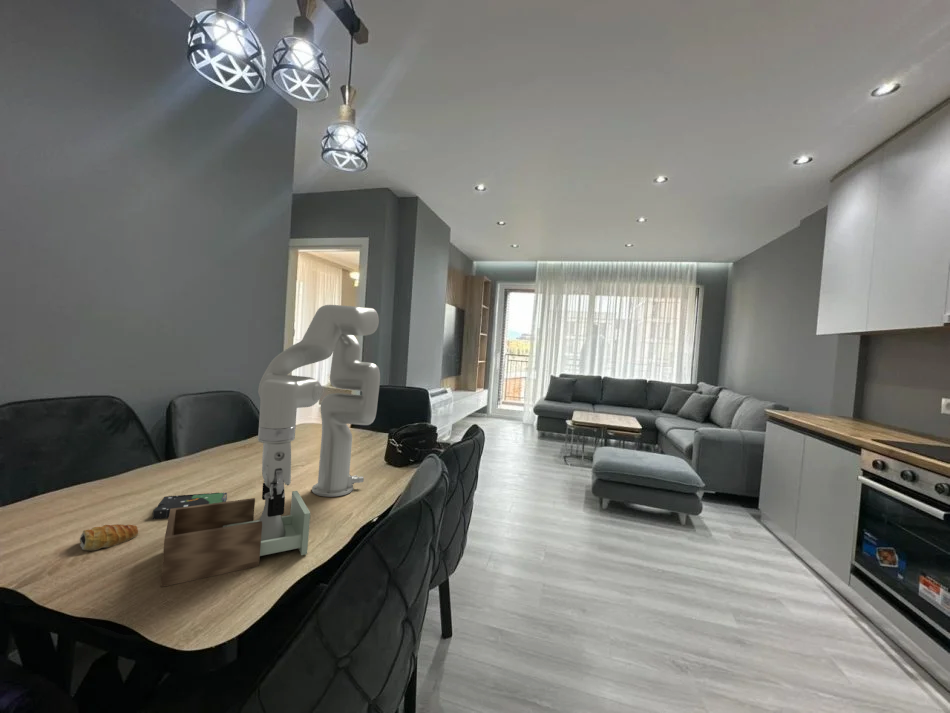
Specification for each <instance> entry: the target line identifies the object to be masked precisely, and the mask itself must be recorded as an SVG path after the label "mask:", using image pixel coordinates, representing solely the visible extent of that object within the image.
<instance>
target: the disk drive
mask: <svg viewBox="0 0 950 713" xmlns="http://www.w3.org/2000/svg"><path fill="white" fill-rule="evenodd" d="M227 498H228V492H211V493H195V494H181V495H178V494H177V495H168V496H164V497H163V498H162V500H160V502H159V503H158V505H157V507H155V508H154V509H153V511H152V520H160V519H161V520H162V519H168V518H169V513H170V509H173V508H181V507H188V506H196V505H204V504H212V503H220V502H227V500H228V499H227Z"/></svg>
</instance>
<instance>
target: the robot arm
mask: <svg viewBox="0 0 950 713" xmlns="http://www.w3.org/2000/svg"><path fill="white" fill-rule="evenodd" d="M379 323H380V318H379V314H378V312H377V310H376V309H374V308H373V307H366V306H365V307H362V306H353V305H340V304H325V305H322V306H320V307H319V308H318V309H317V311H316V313H315V314H314V316H313V318H312V320H311V321H310V324H309V325H308V328H307V329H306V330H305V333H304V335H303V337H302V340H300V341H298V342H297V343H295V344H293V345H290V346H289V347H288V348H286V349H285V350H283V351H281V352H280V353H279V354H277V355H276V356H274V358H273V359H272V360H271V361H270V363H269V364H268V365H267V367H266V369H265V370H264V373H263V374H262V377H261V379H260V381H259V384H258V389H257V390H258V397H259V398H260V399H259V400H260V405H259V418H258V420H259V422H258V434H257V435H258V437H257V441H258V442H259V443H262V444H263V446H262V457H261V458H262V459H261V460H262V461H261V464H262V465H261V473H262V479H263V482H262V493H261V494H262V496H261V499H262V501H265V498H264V495H265V494H266V493H268V492H270V498H268V513H267V515H268V517H272V516H278V515H280V516H284V514H285V502H286V501H285V500H286V497H285V495H286V494H285V485H286V486H289V485H291V481H292V480H291V478H292V444H291V442H293V441H295V440H296V438H295V437H296V427H297V426H296V425H297V411H298V410H297V409H298V408H299V409H300V408H310V407H313V406H314V405H316V404H317V403H318V402H319V401H320V399H321V397H322V394H323V387H322V384H321V383H320V381H319V380H317V379H316V378H313V377H310V376H301V375H291V374H290V373H292V372H293V371H295V370H297V369H299V368H302V367H304V366H308V365H313V364H316V363H319V362H322V361H325V360H326V359H328V358H330V357H331V365H330V372H329V383H330V385H331V386H332V387H333V388H336V389H340V390H346V391H347V390H350V391H357V392H358V391H359V392H362V394H354V393H353V394H352V393H341V392H335V393H334V392H333V393H328V394H327V395H325V396H324V397H323V398H322V400H321V403H320V417H321V437H320V438H321V439H320V441H321V442H320V452H319V464H318V465H319V466H318V476H317V482H316V483H315V484H313V486H312V487H311V491H312V493H313V494H314V495H316V496H320V497H326V498H327V497H329V498H332V497H333V498H334V497H341V496H345V495H349V494H350V493H351V492H353V491H354V484H357V483H363V482H364V480H365V479H364V476H361V475H360V476H358V475H351V473H350V471H351V459H352V458H351V457H352V449H353V448H352V446H353V445H352V444H353V433H352V431H351V429H350V427H349V426H348V425H360V426H369V425H371V424H373V423H374V421H375V419H376V416H377V411H378V403H379V402H378V401H379V393H380V384H381V373H380V372H381V371H380V368H379V366H378V365H377V364H375V363H373V362H367V361H360V356H361V345H360V343H359V340H358V339H357V338H356V336H358V337H363V336H364V337H365V336H370V335H372V334H374V333H375V332H376V331H377V329H378V328H379Z"/></svg>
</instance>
